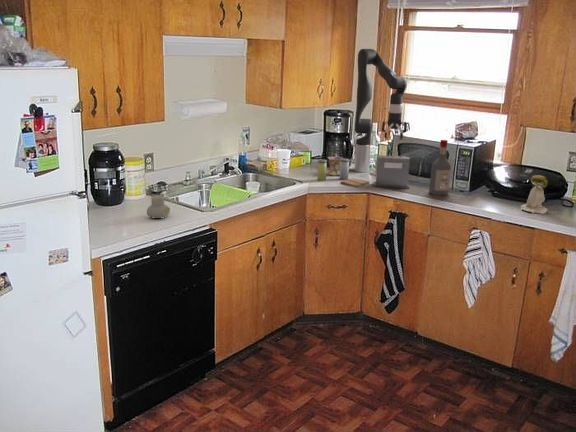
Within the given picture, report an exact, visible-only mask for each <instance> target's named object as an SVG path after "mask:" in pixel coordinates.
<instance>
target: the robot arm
mask: <svg viewBox="0 0 576 432" xmlns="http://www.w3.org/2000/svg"><path fill="white" fill-rule="evenodd" d="M369 65H373V66H374V67H375V68H376V69H377V73H378V75H379V76H380V77H381V78H382V79H383V80H384V81H385V83H386V84H387V86H388V87H389V89H392V90H395V92H394V93H391V94H390V100H389V108H388V116H387V117H388V119H387V121H385V120H383V121H382V125H381V132H383V133H384V135H383V136H384V139H385V140H387V138H388V131H390V129H391V130H398V131H400V133H399V140H402V139H403V136H404V134H405V133H407V122H406V121H402V113H403V98H404V94H405V91H406V88H407V85H408V83H407V78H406V77H405V76H396V75H397V74H396V72H395V70H393V69H392V68H391V67H390V66H389V65H388V64H386V62H385V61H384V60H383V58H382V57H381V56H380V54H379V52H377V50H375V49H373V48H361V49H360V50H359V51H358V53H357V87H356V106H355V107H356V110H355V117H354V118H355V119H354V132H355V134H365V135H364V136H363V137H360V138H359V137H358V138H357V139H356V140H355V153H354V170H353V171H354V172H358V173H369V171H370V163H371V162H370V161H371V143H372V142H371V141H372V140H371V139H372V133H373V132H372V130H373V121H372V119H371V118H361V116H362V114H363V112H364V110H365V108H366V107H367V106H368V104H370V103H369V102H370V101H372V98H373V84H372V82H371V80H370V77H369V76H368V69H367V67H368V66H369ZM385 125H388V126H387V127H386V126H385ZM401 126H403V130H402V128H401ZM385 127H386V128H385Z"/></svg>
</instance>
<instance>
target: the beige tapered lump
mask: <svg viewBox="0 0 576 432" xmlns="http://www.w3.org/2000/svg"><path fill="white" fill-rule="evenodd" d="M530 182H531V187H532V188H531V189H530V192H529V193H528V194H529V195H528V198H527V200H526V203H525V204H522V205H520V211H522V210H523V211H526V212H530V213H531V214H534V213H536V214H537V213H538V214H542V215H543V214H547V213H548V208H546V207H545V206H543V203H544V202H545V200H546V198H545V194H544V193H545V192H544V189H545V188H546V187H548V180H547V177H545V176H544V175H540V174H538V175H537V174H536V175H535V174H534V175H532V176H531V178H530Z"/></svg>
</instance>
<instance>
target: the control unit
mask: <svg viewBox="0 0 576 432" xmlns="http://www.w3.org/2000/svg"><path fill="white" fill-rule="evenodd" d="M376 156H377V157H376V169H375V180H374V181H373V187H374V188H387V189H388V188H390V189H392V188H393V189H410V184H409V173H410V172H409V170H410V159H411V158H410V157H409V156H404V155H402V156H400V155H382V154H381V155H380V154H377V155H376Z"/></svg>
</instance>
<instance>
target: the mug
mask: <svg viewBox="0 0 576 432" xmlns="http://www.w3.org/2000/svg"><path fill="white" fill-rule="evenodd" d="M341 159H344V157H342V156H329V157H328V159H326V160H327V162H328V163H329V167H328V166H326V169H328V175H330V176H333V177H340V167H341Z"/></svg>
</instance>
